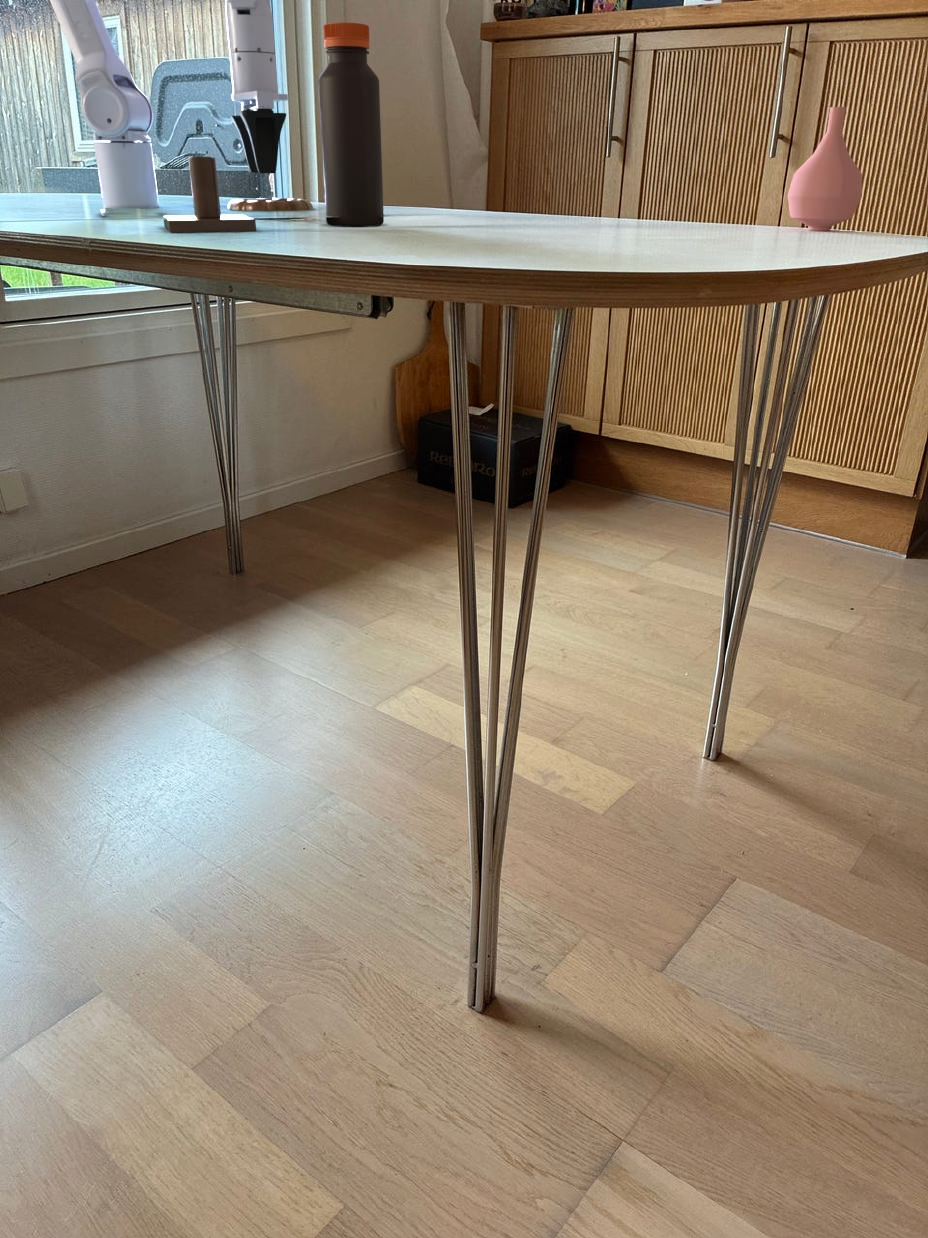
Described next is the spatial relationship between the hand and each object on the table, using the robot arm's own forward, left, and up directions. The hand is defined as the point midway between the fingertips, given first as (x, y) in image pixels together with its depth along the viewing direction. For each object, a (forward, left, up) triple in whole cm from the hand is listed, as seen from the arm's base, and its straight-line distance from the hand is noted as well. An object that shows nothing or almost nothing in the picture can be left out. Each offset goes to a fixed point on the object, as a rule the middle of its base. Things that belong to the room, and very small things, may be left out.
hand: (262, 172), depth 125 cm
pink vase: (+46, +54, -5) cm, 71 cm away
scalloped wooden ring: (+4, 0, -4) cm, 6 cm away
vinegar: (+22, +7, -5) cm, 24 cm away
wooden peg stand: (+24, -10, -5) cm, 27 cm away
